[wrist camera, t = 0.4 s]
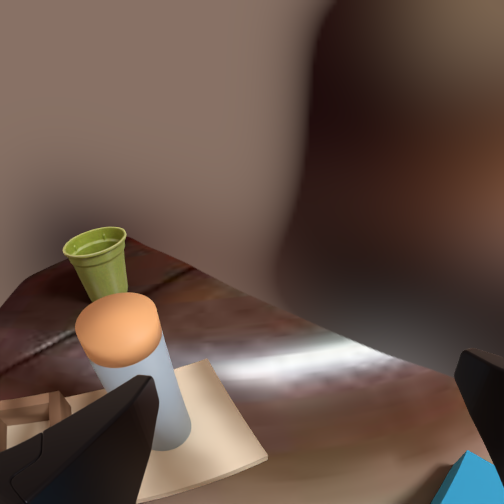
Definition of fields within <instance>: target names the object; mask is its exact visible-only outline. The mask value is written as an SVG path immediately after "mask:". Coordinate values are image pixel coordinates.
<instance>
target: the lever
mask: <svg viewBox="0 0 504 504" xmlns="http://www.w3.org/2000/svg"><path fill="white" fill-rule="evenodd" d="M431 504H504V487H503V485H502V482H501V480H500V478H499V475H498V473H497V470H496V468H495V466H494V465H493V464H491V463H489V462H487V461H486V460H484V459H482V458H480V457H479V456H477V455H475V454H474V453H472V452H470V451H468V450H467V451H466V452H465V453H464V454H463V455H462V456H461V458H460V459H459V460H458V461H457V462H456V463H455V464H454V465H453V466H452V468H451V469H450V471H449V473H448V474H447V476H446V478H445V480H444V481H443V483H442V485H441V487H440V489H439V490H438V492H437V494H436V495H435V497H434V499H433V500H432V502H431Z"/></svg>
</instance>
